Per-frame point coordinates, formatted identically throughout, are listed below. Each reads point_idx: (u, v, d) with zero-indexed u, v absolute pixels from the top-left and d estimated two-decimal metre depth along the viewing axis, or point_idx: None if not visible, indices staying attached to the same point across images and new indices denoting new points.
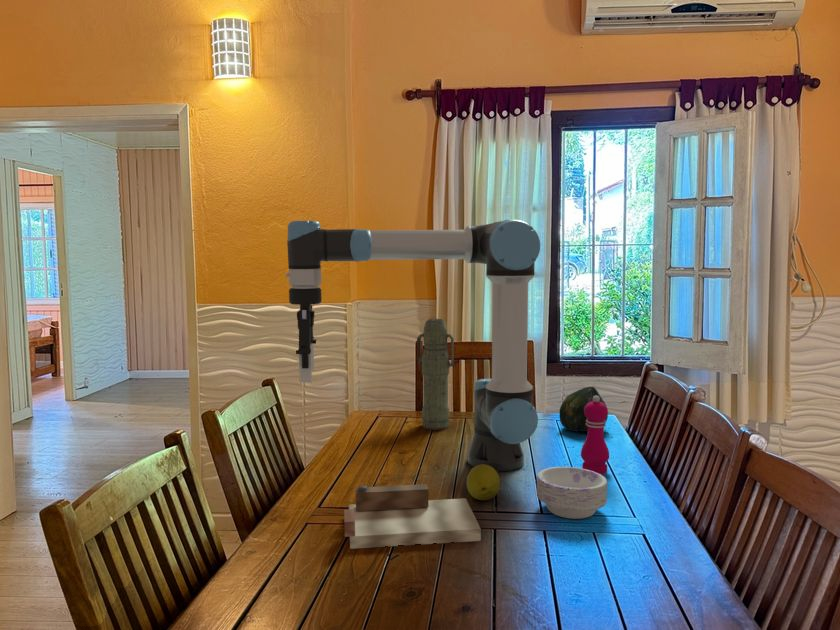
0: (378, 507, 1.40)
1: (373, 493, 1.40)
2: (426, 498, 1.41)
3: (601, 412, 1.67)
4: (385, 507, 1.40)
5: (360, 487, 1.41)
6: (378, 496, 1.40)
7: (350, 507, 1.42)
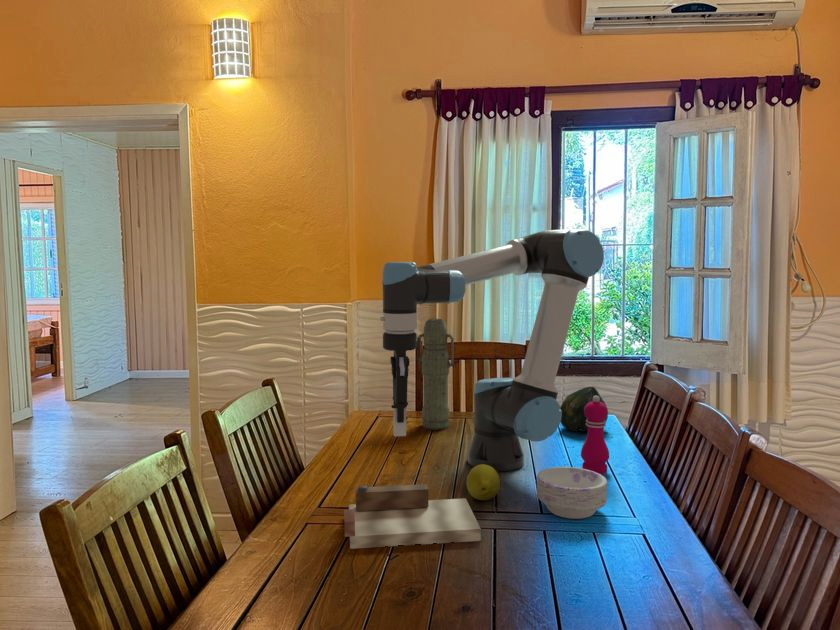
0: (378, 507, 1.40)
1: (373, 493, 1.40)
2: (426, 498, 1.41)
3: (601, 412, 1.67)
4: (385, 507, 1.40)
5: (360, 487, 1.41)
6: (378, 496, 1.40)
7: (350, 507, 1.42)
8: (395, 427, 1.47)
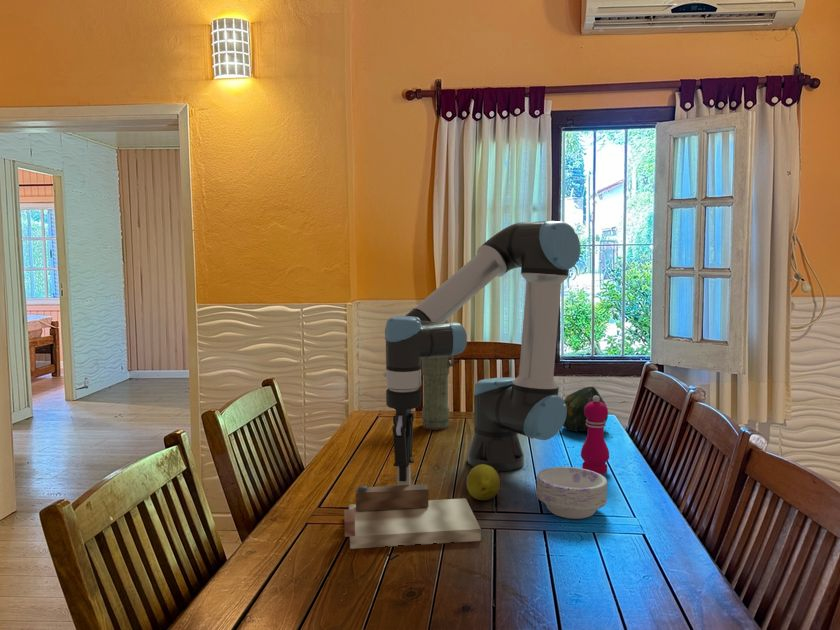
0: (378, 507, 1.40)
1: (373, 493, 1.40)
2: (426, 498, 1.41)
3: (601, 412, 1.67)
4: (385, 507, 1.40)
5: (360, 487, 1.41)
6: (378, 496, 1.40)
7: (350, 507, 1.42)
8: (398, 485, 1.44)
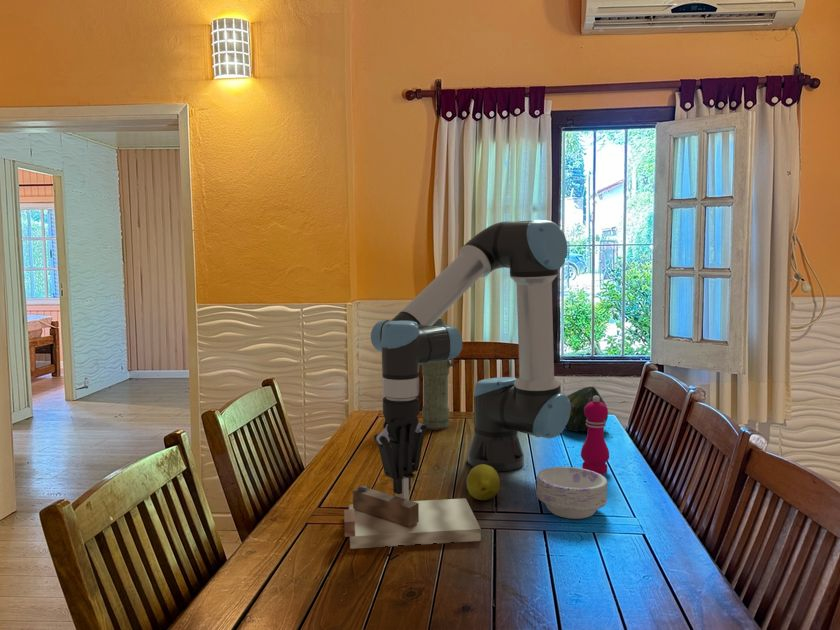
0: (369, 511, 1.38)
1: (365, 495, 1.38)
2: (407, 517, 1.32)
3: (601, 412, 1.67)
4: (374, 513, 1.37)
5: (360, 486, 1.41)
6: (369, 500, 1.38)
7: (350, 507, 1.42)
8: None
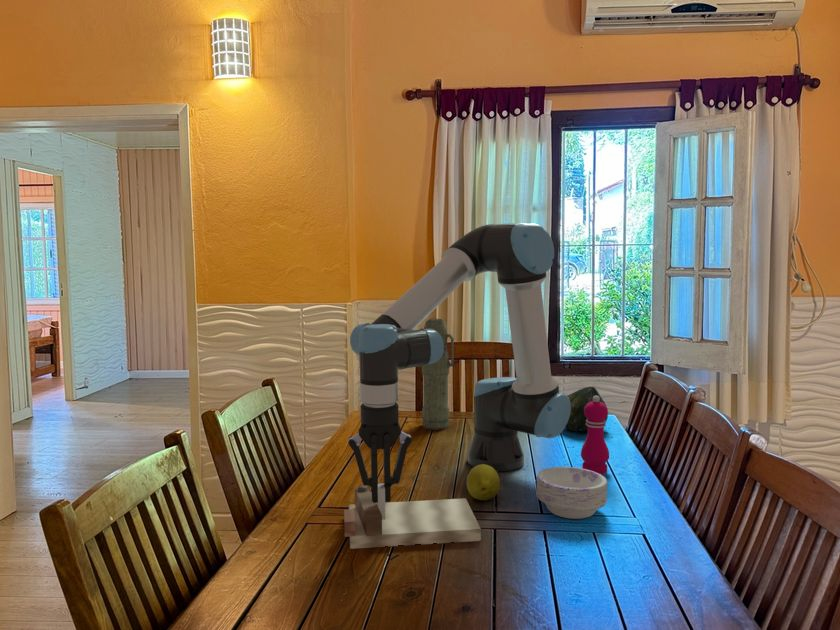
0: (358, 512, 1.38)
1: (357, 495, 1.39)
2: (366, 525, 1.28)
3: (601, 412, 1.67)
4: (359, 515, 1.36)
5: (361, 486, 1.41)
6: (358, 501, 1.38)
7: (350, 507, 1.42)
8: (377, 505, 1.34)
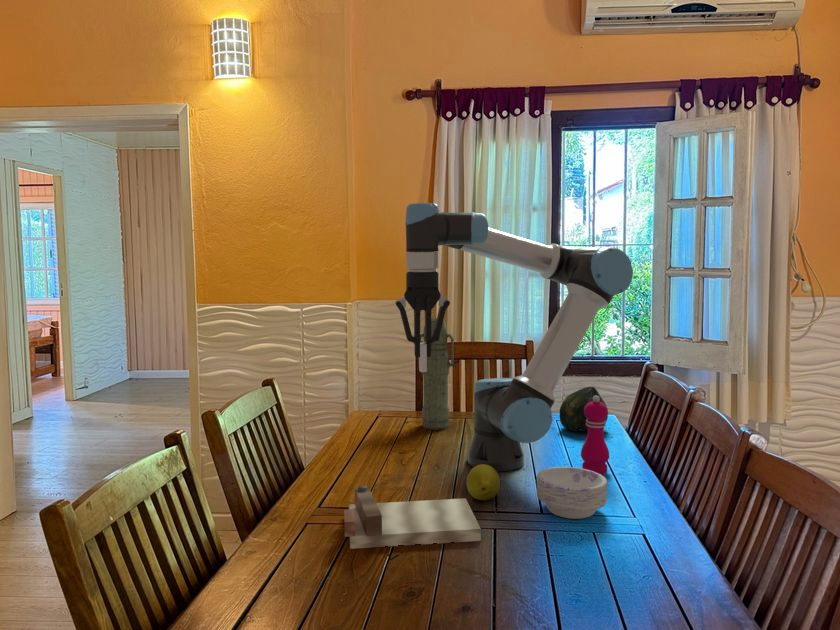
0: (358, 512, 1.38)
1: (357, 495, 1.39)
2: (366, 525, 1.28)
3: (601, 412, 1.67)
4: (359, 515, 1.36)
5: (361, 486, 1.41)
6: (358, 501, 1.38)
7: (350, 507, 1.42)
8: (419, 361, 1.56)
